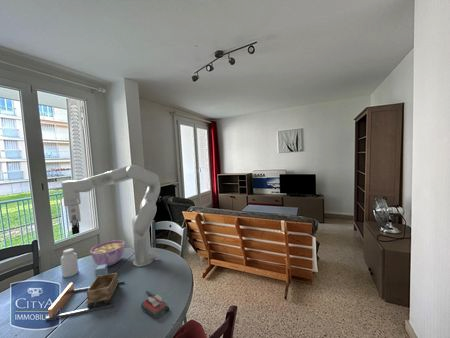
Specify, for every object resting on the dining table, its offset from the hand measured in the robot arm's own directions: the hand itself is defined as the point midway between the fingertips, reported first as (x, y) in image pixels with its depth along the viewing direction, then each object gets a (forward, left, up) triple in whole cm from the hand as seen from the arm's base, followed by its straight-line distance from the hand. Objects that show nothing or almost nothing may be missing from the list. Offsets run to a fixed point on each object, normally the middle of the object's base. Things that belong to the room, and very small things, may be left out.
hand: (76, 231), depth 115 cm
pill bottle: (+9, -8, -29) cm, 31 cm away
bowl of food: (-11, -14, -29) cm, 34 cm away
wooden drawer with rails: (-12, +22, -28) cm, 38 cm away
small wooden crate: (-19, +22, -28) cm, 40 cm away
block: (-13, +6, -29) cm, 32 cm away
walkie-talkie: (-43, +36, -29) cm, 63 cm away
